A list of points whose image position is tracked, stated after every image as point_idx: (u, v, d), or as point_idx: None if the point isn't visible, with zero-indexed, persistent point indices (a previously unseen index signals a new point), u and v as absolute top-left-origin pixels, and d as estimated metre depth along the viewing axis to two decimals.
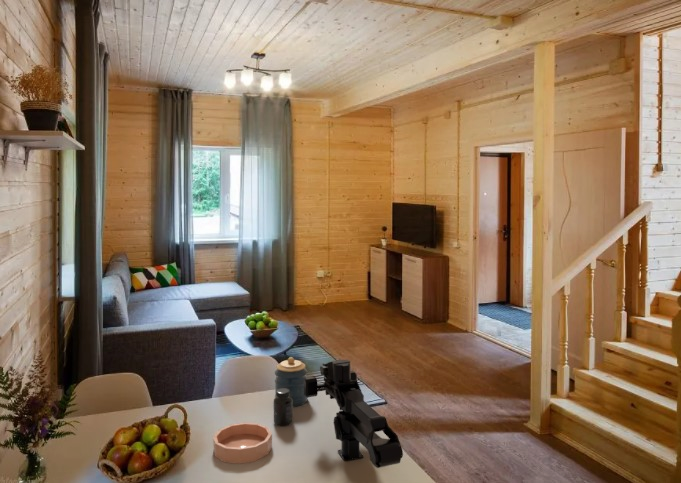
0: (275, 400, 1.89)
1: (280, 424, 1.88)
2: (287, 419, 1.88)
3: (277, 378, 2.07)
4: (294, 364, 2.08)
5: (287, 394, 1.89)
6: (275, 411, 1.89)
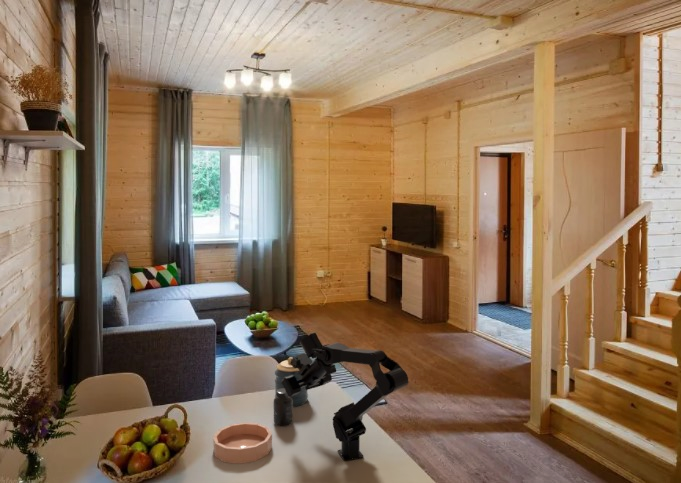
0: (275, 400, 1.89)
1: (280, 424, 1.88)
2: (287, 419, 1.88)
3: (277, 378, 2.07)
4: None
5: None
6: (275, 411, 1.89)
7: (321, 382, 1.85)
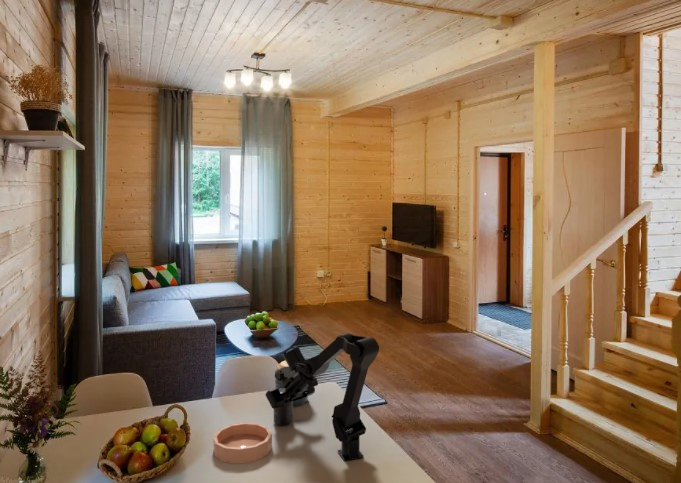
0: None
1: (280, 424, 1.88)
2: (287, 419, 1.88)
3: None
4: None
5: None
6: (275, 411, 1.89)
7: (302, 395, 1.90)
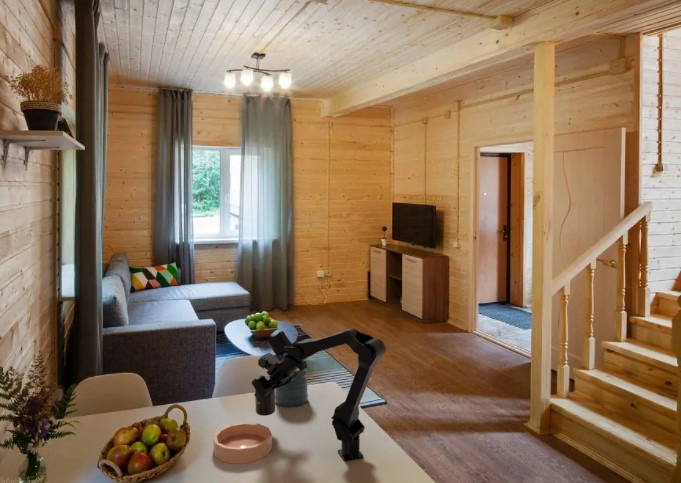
0: None
1: (264, 413, 1.81)
2: (271, 407, 1.82)
3: None
4: None
5: None
6: (258, 400, 1.81)
7: (285, 381, 1.85)
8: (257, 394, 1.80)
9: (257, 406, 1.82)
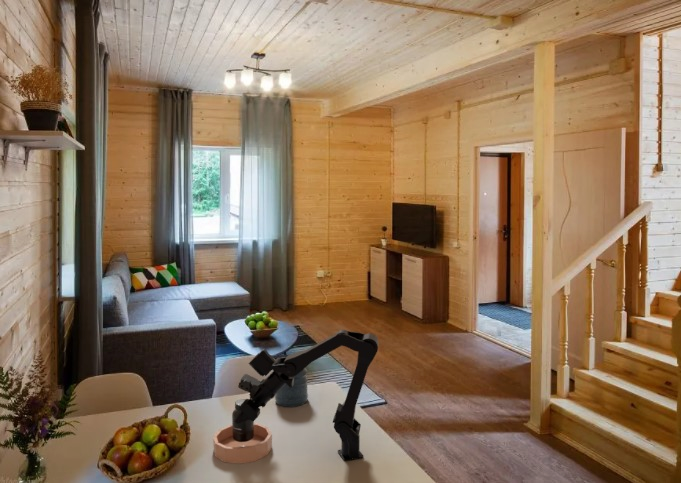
0: (237, 415, 1.68)
1: (246, 439, 1.69)
2: (252, 431, 1.71)
3: None
4: None
5: None
6: (239, 427, 1.68)
7: None
8: (239, 420, 1.67)
9: (237, 433, 1.69)
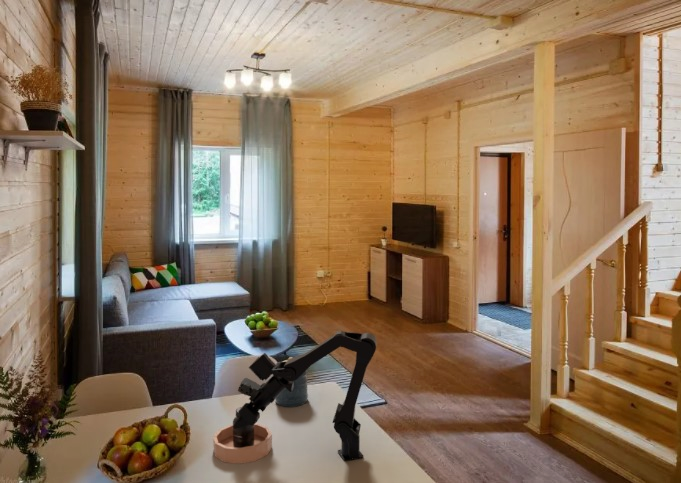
0: None
1: None
2: (252, 439, 1.71)
3: None
4: None
5: None
6: (239, 434, 1.69)
7: None
8: (237, 425, 1.66)
9: (238, 440, 1.69)
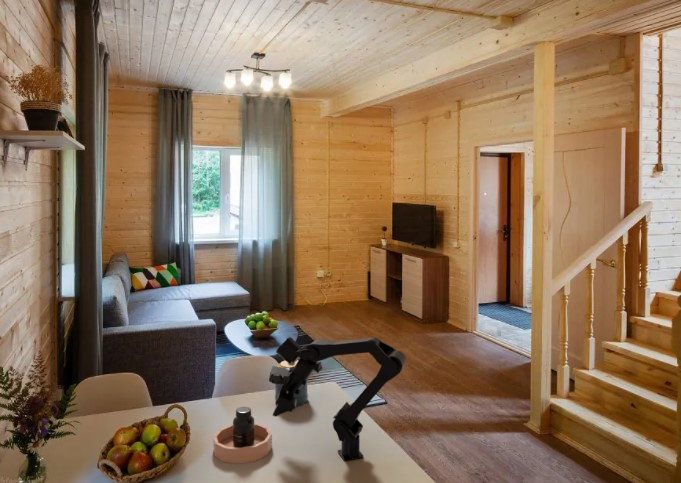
0: (238, 422, 1.69)
1: None
2: (252, 439, 1.71)
3: None
4: (294, 364, 2.08)
5: (250, 412, 1.71)
6: (239, 434, 1.69)
7: None
8: (277, 413, 1.70)
9: (238, 440, 1.69)
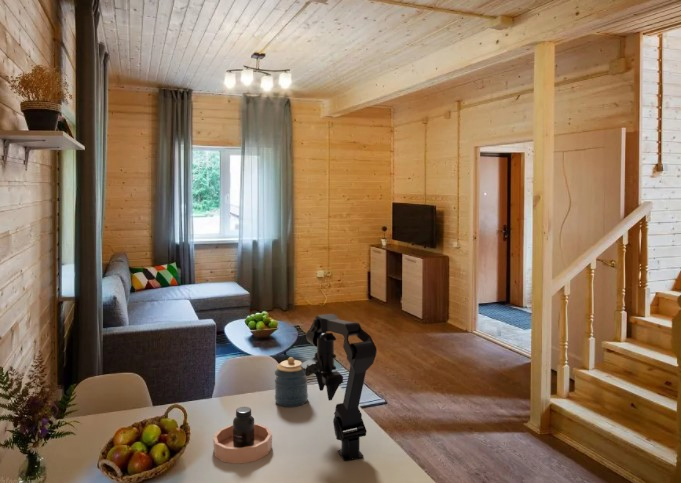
0: (238, 422, 1.69)
1: None
2: (252, 439, 1.71)
3: (277, 378, 2.07)
4: (294, 364, 2.08)
5: (250, 412, 1.71)
6: (239, 434, 1.69)
7: None
8: (331, 395, 1.78)
9: (238, 440, 1.69)
